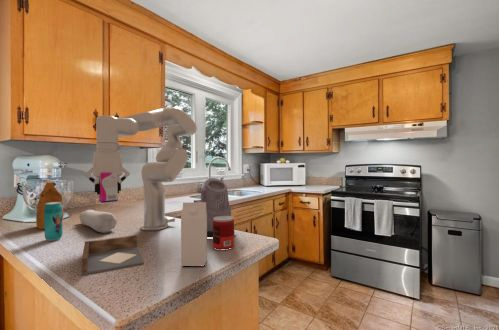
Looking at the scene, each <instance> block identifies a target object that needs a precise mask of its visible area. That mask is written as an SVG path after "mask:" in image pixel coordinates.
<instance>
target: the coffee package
mask: <svg viewBox="0 0 499 330" xmlns="http://www.w3.org/2000/svg"><path fill="white" fill-rule="evenodd" d="M55 186H57V183H56V182H51V181H49V180H48V181H46V182H45V185H44V187H43V188H42V191H41V192H40V195H39V197H38V202H37V205H36V216H35V217H36V220H35V221H36V224H35V225H36V227H37V229H38V230H45V216H44V207H45V205H46V204H45V203H49V202H61V205H62V221H63V218H64V209H63V208H64V207H63V206H64V205H63V202H64V201H63V196H62V195H61V193H60V192H59V190H57V188H56V187H55Z"/></svg>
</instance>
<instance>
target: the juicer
mask: <svg viewBox="0 0 499 330" xmlns="http://www.w3.org/2000/svg"><path fill="white" fill-rule="evenodd" d="M204 184H205V185H204V186H203V187H201V189H200V199H197V200H196V199H195V200H193V202H206V209H207V237H213V218H214V217H217V216H232V207H231V205H230V200H229V194H228V192H229V191H228V187H227V184H226V183H225V182H224V181H222V180H221V179H219V178H214V177H211V178H208V179H207V180H205V182H204Z"/></svg>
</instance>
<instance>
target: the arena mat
mask: <svg viewBox="0 0 499 330" xmlns="http://www.w3.org/2000/svg"><path fill="white" fill-rule="evenodd" d="M140 264H141V265H144V260H143V258H142V255H141V254H140V251H139V248H138V246H137V247H131V248H124V249H118V250H111V251H105V252H98V253H91V254H89V259H88V267H87V272H86V273H82V272H81V276H88V275H91V274H97V273H101V272H102V273H103V272H108V271H115V270H119V269H125V268H130V267H134V266H140Z"/></svg>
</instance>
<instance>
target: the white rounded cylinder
mask: <svg viewBox="0 0 499 330" xmlns="http://www.w3.org/2000/svg"><path fill="white" fill-rule="evenodd" d="M78 217H79V220H80V223H81V224H82V225H83V226H87V227H90V228H91V229H93V231H94V230H95V231H96V232H97V233H98V232H99V233H101V234H107V233H110V232H111V231H112V230H113V229H114V228H116V226H117V221H118V220H117V218H116V217H115V215H114V214H113V213H111V212H107V211H96V210H94V209H87V210H86V209H85V211H82V212H80V214H79V216H78Z"/></svg>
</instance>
